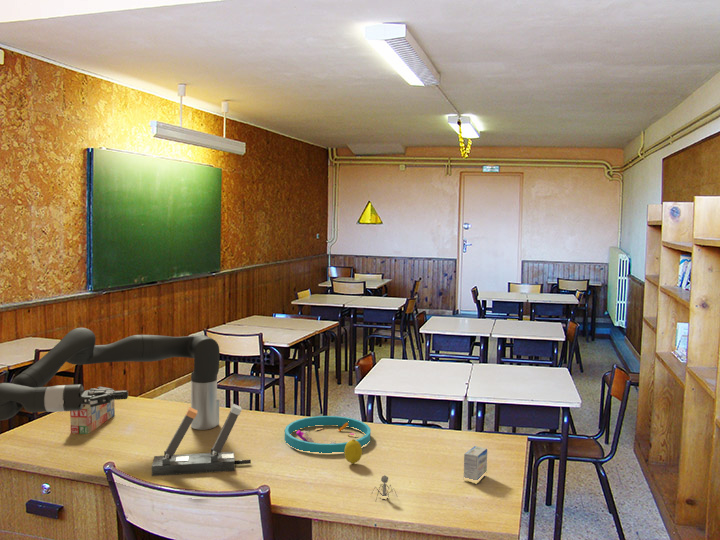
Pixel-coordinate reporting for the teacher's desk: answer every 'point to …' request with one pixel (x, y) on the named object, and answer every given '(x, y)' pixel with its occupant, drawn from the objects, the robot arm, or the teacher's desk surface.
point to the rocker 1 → (181, 432)
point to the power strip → (195, 463)
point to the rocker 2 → (226, 429)
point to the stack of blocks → (91, 417)
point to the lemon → (353, 451)
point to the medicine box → (475, 463)
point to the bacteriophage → (384, 486)
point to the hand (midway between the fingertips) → (127, 394)
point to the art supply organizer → (323, 420)
